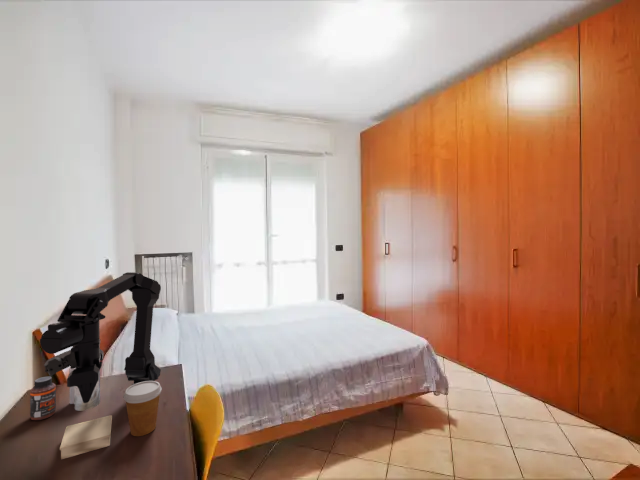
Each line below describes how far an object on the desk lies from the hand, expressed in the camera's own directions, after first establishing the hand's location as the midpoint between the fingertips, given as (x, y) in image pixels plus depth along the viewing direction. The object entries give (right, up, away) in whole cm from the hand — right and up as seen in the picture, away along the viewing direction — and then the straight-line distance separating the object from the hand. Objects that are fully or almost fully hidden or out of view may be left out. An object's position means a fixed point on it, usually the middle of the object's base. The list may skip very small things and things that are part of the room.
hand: (87, 397), depth 85 cm
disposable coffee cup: (+12, -12, +5) cm, 18 cm away
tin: (0, -2, 0) cm, 2 cm away
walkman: (-16, -12, +21) cm, 29 cm away
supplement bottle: (-22, -12, +12) cm, 28 cm away
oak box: (0, -12, 0) cm, 12 cm away
